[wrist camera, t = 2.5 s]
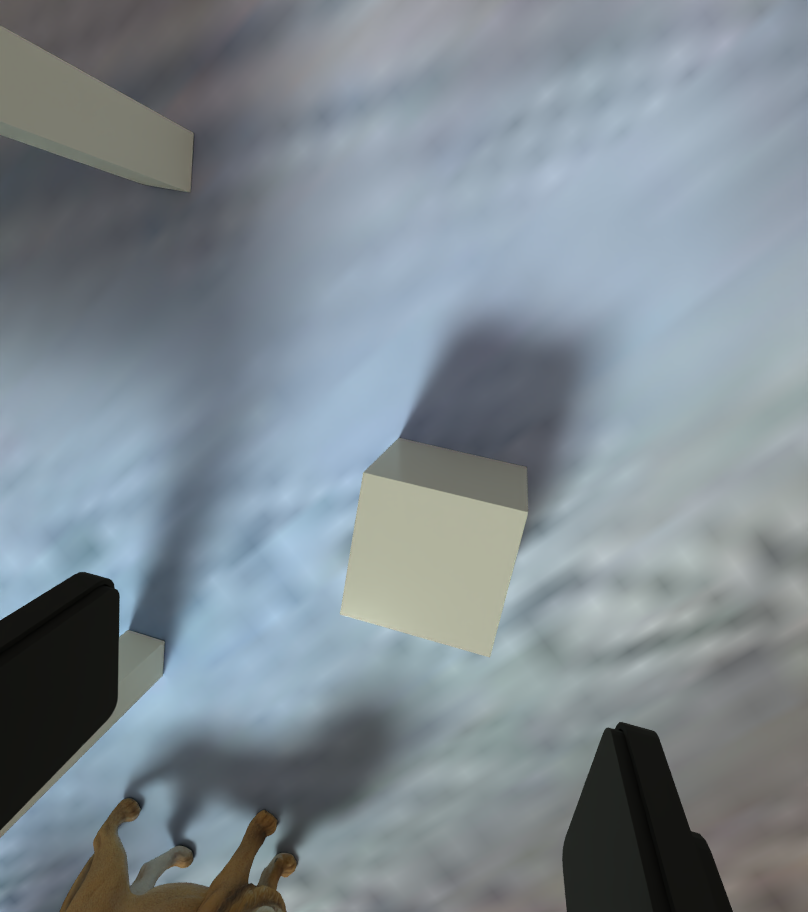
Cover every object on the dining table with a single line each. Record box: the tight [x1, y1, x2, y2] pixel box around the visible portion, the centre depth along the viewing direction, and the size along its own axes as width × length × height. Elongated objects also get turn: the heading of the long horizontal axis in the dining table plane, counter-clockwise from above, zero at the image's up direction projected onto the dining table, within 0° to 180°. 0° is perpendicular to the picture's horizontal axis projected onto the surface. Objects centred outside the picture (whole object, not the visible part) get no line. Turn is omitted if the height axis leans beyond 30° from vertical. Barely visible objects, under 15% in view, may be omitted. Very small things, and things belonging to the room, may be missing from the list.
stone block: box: [340, 438, 528, 657], centre depth 19 cm, size 5×5×5 cm
